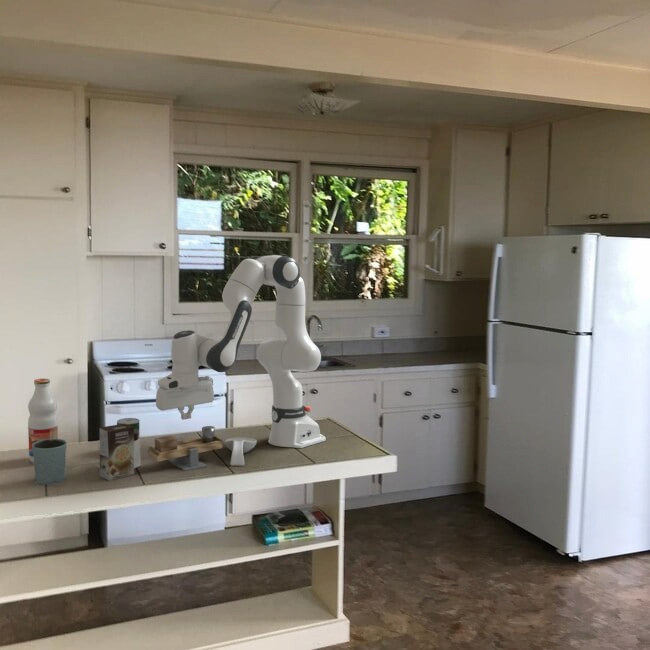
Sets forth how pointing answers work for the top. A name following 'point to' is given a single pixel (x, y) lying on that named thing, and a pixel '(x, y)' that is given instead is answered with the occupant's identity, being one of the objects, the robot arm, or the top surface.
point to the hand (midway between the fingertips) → (186, 418)
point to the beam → (185, 449)
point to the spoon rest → (239, 449)
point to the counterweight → (208, 434)
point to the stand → (188, 460)
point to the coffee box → (116, 451)
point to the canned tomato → (130, 422)
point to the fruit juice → (42, 415)
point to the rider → (165, 443)
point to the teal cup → (49, 460)
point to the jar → (136, 448)
